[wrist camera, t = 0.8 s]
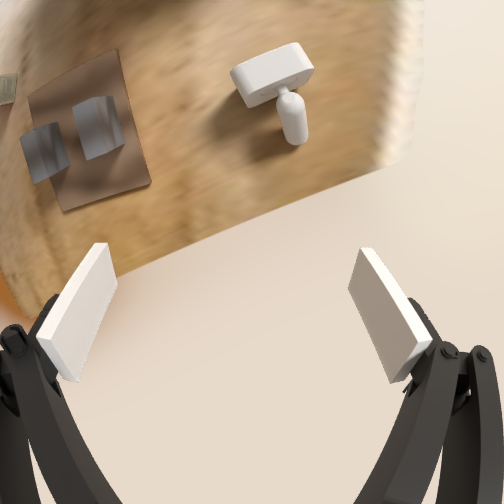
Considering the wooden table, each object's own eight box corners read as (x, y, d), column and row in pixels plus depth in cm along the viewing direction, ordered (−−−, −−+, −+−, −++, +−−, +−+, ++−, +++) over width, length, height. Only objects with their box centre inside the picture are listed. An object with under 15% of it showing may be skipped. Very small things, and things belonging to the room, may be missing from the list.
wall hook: (273, 157, 36) (275, 157, 26) (237, 90, 33) (227, 69, 24) (327, 132, 34) (348, 125, 25) (292, 67, 31) (300, 39, 22)
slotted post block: (31, 96, 27) (2, 101, 21) (117, 49, 26) (94, 42, 21) (65, 209, 38) (43, 229, 32) (151, 181, 37) (136, 199, 31)
